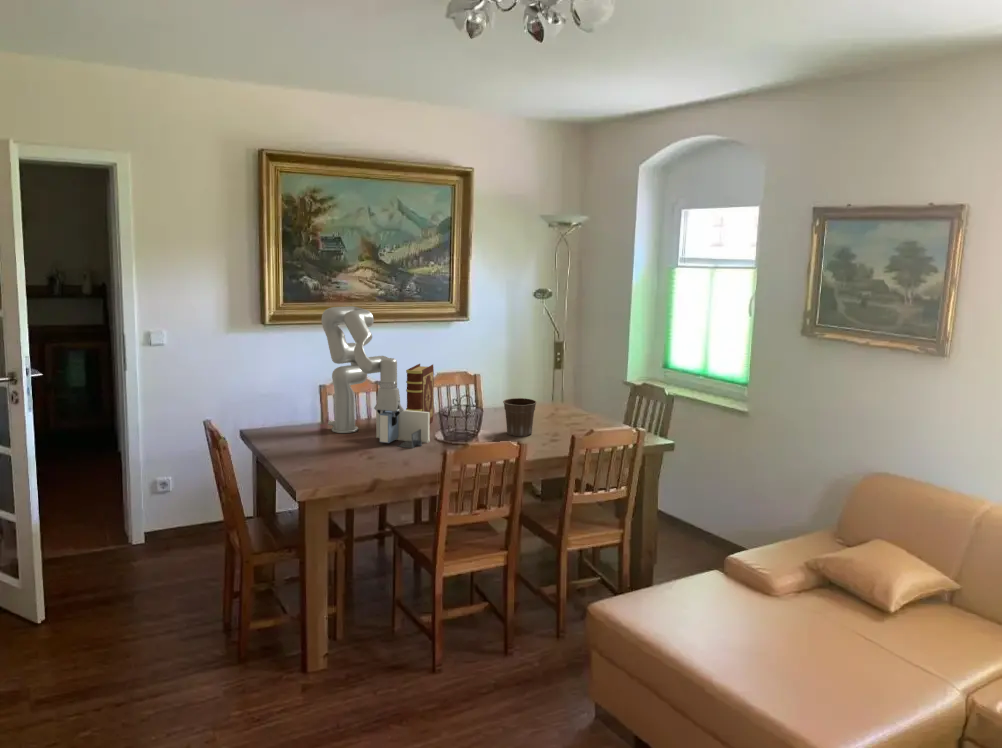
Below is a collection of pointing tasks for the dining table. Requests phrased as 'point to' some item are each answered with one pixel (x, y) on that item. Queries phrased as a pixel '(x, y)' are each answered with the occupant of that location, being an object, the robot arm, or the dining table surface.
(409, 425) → the shelf wall
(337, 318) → the robot arm
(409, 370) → the decorative book
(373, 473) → the dining table surface
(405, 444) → the bookend
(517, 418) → the plant pot
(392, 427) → the boxed book
